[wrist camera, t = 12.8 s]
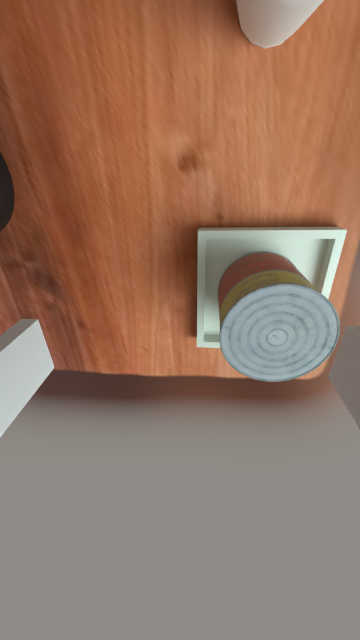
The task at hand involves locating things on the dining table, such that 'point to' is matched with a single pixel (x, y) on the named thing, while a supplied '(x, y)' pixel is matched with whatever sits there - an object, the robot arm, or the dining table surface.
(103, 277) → the dining table surface
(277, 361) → the canned food
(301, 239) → the tray
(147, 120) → the dining table surface
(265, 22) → the foam cup
